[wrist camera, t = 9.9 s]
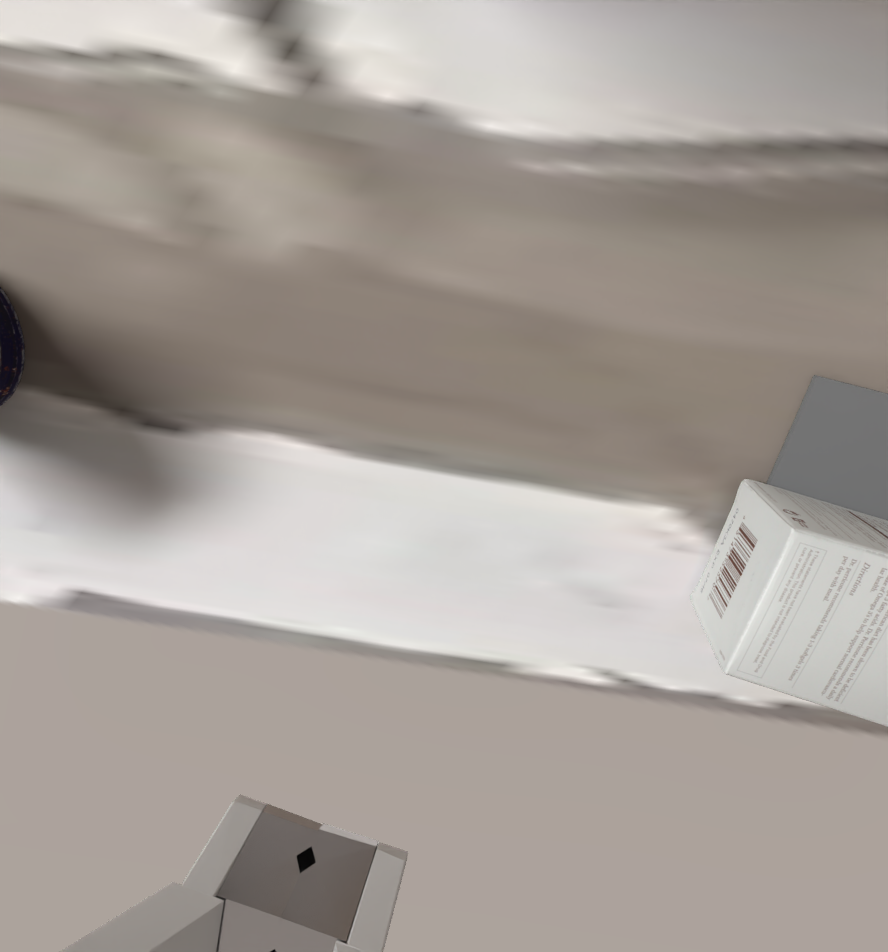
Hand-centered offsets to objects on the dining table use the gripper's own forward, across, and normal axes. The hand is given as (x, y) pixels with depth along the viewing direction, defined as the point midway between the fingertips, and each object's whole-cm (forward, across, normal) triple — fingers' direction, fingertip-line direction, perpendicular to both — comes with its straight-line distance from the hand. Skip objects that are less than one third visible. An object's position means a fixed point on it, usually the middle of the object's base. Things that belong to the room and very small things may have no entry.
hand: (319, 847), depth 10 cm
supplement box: (+20, -12, +1) cm, 24 cm away
